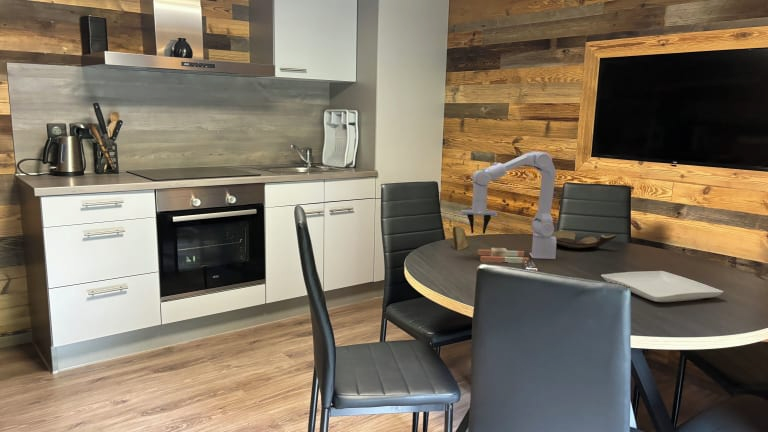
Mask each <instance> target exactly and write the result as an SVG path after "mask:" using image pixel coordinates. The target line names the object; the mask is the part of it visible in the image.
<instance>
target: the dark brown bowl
mask: <svg viewBox="0 0 768 432" xmlns="http://www.w3.org/2000/svg"><path fill="white" fill-rule="evenodd" d="M551 236H553V237H556V244H558V245H560V246H561V247H566V248H569V249H585V248H586V249H587V248H590V247H591V248H592V247H595V248H599V247H602V246H604V245H605V244H606V243H609V242H610V241H612V240H614V239H616V237H617V235H616V234H613V235H609V236H605V235H604V234H601V235H600V239H598V238H597V237H595V236H593V235H591V236H586V237H584V238H582V239H581V240H579V241H576V236H577V233H576V232H574V231H566V230H554V232H553V234H552V235H551Z"/></svg>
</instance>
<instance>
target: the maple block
mask: <svg viewBox="0 0 768 432" xmlns="http://www.w3.org/2000/svg"><path fill="white" fill-rule="evenodd" d="M490 250H491V255H490V256H496V257H508V256H507V253H508V252H507V251H508V249H507V248H504V247H490Z"/></svg>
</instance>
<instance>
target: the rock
mask: <svg viewBox="0 0 768 432" xmlns="http://www.w3.org/2000/svg"><path fill="white" fill-rule="evenodd" d="M452 239H453V240H452V241H453V242H452V243H453V244H452V247H453V248H452V249H454V250H456V251H461V250H464V249H466V248H467V247H469V246H470V242H469V238H468V235H467V234H466V232H465V229H464V228H463V227H461V226H459V225H457V226H456V225H455V226H453V227H452Z"/></svg>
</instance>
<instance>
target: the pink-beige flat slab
mask: <svg viewBox="0 0 768 432" xmlns="http://www.w3.org/2000/svg"><path fill="white" fill-rule="evenodd" d="M507 252H508V253H507V257H496V256H491V249H477V255H478V256H480V262H481V263H482V262H483V263H502V262H508V263H507V264H509V263H510V264H525V263H524V262H525V261H529V262H530V258H529V257H525V251H524V250H507Z"/></svg>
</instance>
